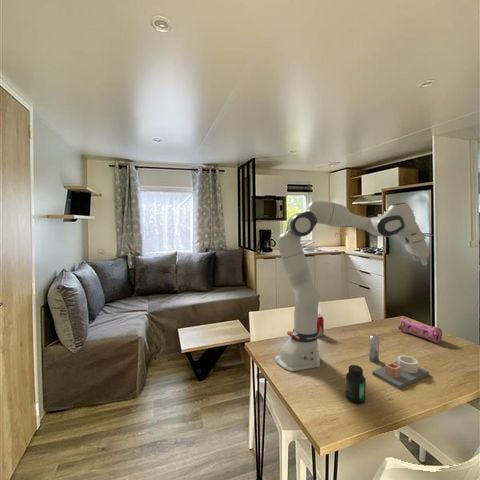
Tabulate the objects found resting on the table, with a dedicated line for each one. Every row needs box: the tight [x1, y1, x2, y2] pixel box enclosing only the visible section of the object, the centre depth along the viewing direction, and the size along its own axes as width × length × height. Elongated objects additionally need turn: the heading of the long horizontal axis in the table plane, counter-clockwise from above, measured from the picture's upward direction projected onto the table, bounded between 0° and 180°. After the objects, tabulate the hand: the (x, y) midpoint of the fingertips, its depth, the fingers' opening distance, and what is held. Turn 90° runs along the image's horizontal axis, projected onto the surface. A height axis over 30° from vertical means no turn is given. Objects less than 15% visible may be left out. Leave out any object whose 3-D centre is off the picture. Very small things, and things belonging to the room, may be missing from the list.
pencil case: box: [397, 316, 443, 344], centre depth 155 cm, size 21×9×9 cm, turn 26°
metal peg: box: [368, 334, 380, 364], centre depth 129 cm, size 4×4×12 cm
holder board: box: [371, 355, 430, 390], centre depth 117 cm, size 21×12×6 cm, turn 117°
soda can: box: [317, 313, 325, 338], centre depth 160 cm, size 7×7×12 cm
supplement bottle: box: [345, 364, 367, 405], centre depth 101 cm, size 7×7×12 cm
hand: (421, 262), depth 125 cm, fingers open, 8 cm apart
